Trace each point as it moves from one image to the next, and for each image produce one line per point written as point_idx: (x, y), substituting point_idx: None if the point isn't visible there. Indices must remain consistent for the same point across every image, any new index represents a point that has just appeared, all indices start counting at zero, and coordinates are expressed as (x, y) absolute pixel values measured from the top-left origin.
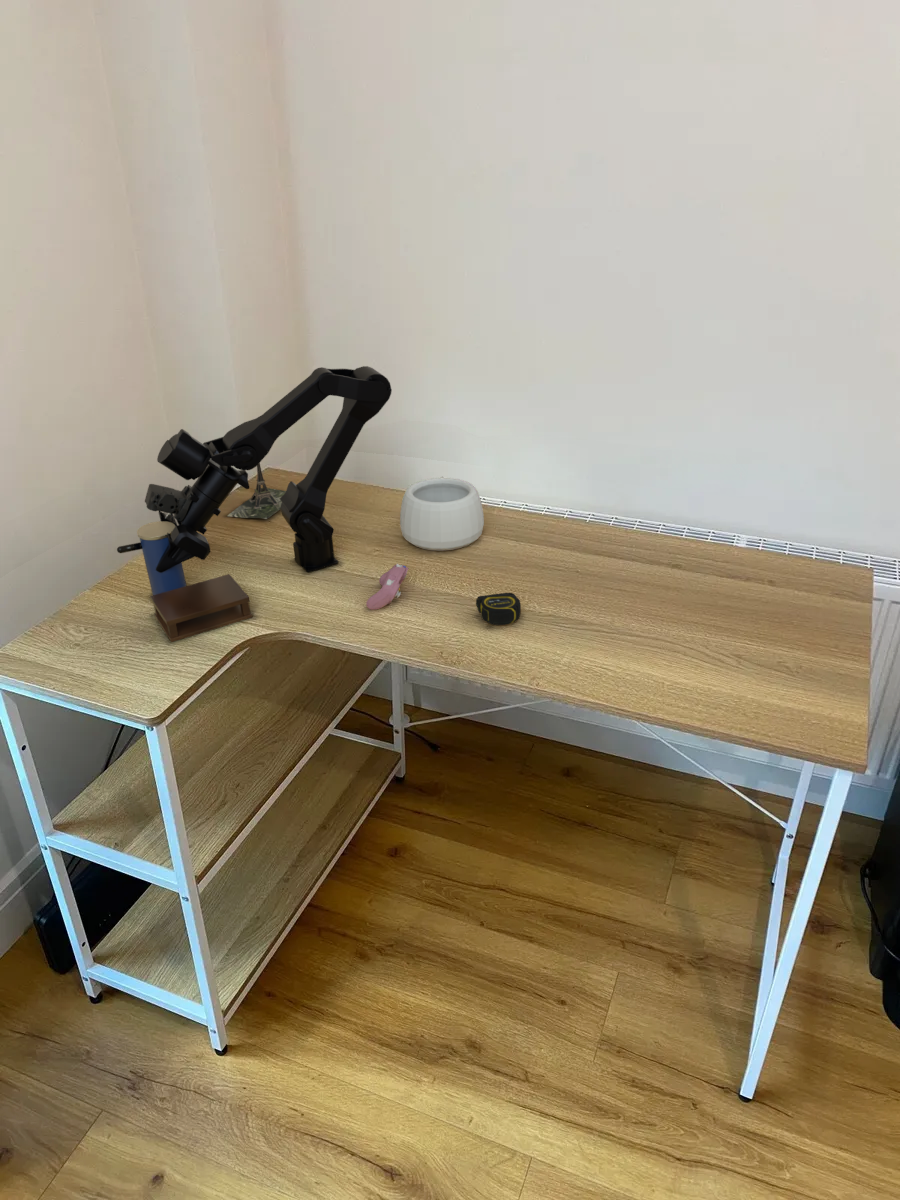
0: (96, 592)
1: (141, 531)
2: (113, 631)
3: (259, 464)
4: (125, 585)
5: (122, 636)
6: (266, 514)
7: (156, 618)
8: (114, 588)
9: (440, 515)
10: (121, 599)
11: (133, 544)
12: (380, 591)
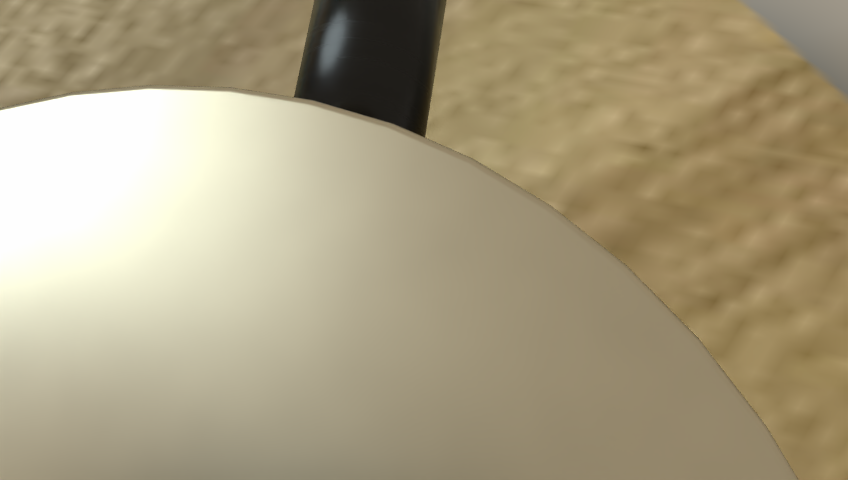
0: (751, 40)
1: (239, 238)
2: (177, 40)
3: None
4: (759, 229)
5: (90, 71)
6: None
7: None
8: (750, 152)
9: None
10: (550, 159)
11: (332, 87)
12: None
